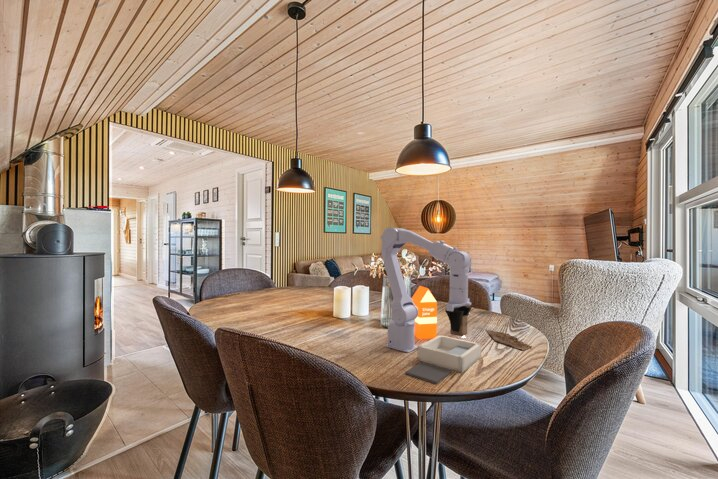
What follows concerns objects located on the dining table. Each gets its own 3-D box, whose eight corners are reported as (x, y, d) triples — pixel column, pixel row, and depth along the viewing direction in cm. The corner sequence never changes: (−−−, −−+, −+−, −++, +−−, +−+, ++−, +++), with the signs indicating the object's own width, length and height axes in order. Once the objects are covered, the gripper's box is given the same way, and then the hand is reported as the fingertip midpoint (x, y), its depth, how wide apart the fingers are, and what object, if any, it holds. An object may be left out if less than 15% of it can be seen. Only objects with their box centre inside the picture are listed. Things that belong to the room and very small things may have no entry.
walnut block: (450, 334, 103) (450, 315, 103) (455, 331, 106) (455, 313, 106) (462, 336, 100) (462, 317, 100) (467, 333, 104) (467, 315, 104)
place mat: (405, 373, 93) (405, 371, 93) (421, 363, 101) (421, 361, 101) (436, 384, 87) (436, 381, 87) (451, 372, 95) (451, 370, 95)
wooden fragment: (538, 351, 114) (538, 348, 114) (509, 352, 113) (509, 349, 113) (501, 330, 140) (501, 328, 140) (477, 331, 139) (477, 328, 139)
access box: (417, 360, 104) (417, 346, 104) (439, 347, 117) (440, 334, 117) (462, 372, 95) (462, 357, 95) (481, 357, 107) (481, 343, 107)
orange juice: (419, 339, 126) (419, 288, 126) (410, 332, 134) (410, 285, 134) (437, 338, 127) (437, 288, 127) (427, 331, 136) (427, 285, 136)
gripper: (462, 292, 95) (461, 337, 95) (478, 286, 106) (478, 327, 106) (440, 289, 100) (439, 332, 100) (458, 284, 111) (457, 323, 111)
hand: (458, 329), depth 103 cm, fingers closed on walnut block, 4 cm apart
